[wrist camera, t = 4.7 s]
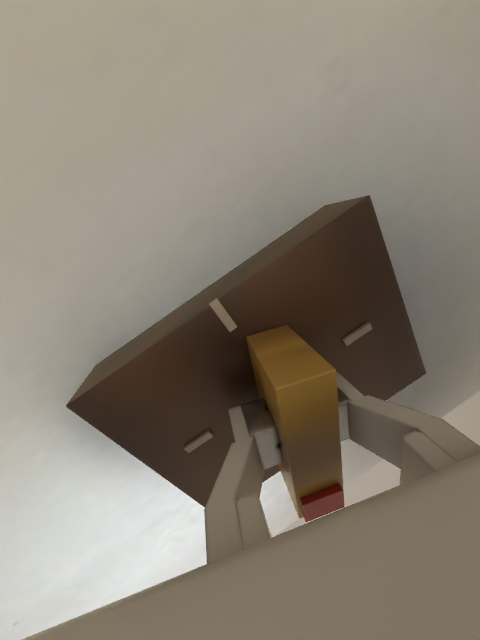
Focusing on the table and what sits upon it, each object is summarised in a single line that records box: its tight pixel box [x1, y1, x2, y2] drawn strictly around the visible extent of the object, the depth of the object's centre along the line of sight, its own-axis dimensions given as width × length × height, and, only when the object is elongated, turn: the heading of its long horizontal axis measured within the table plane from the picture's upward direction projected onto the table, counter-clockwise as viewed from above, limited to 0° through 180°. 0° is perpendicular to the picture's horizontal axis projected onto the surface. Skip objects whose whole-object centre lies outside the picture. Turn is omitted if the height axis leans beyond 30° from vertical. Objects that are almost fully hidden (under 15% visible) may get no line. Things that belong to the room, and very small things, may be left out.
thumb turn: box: [246, 325, 344, 522], centre depth 9 cm, size 6×2×4 cm, turn 12°
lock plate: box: [66, 196, 426, 507], centre depth 12 cm, size 14×10×3 cm
